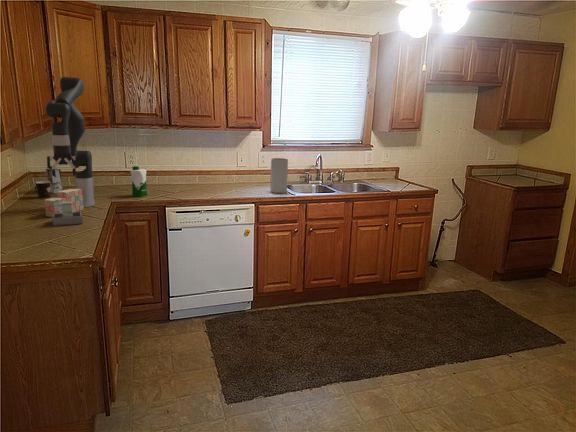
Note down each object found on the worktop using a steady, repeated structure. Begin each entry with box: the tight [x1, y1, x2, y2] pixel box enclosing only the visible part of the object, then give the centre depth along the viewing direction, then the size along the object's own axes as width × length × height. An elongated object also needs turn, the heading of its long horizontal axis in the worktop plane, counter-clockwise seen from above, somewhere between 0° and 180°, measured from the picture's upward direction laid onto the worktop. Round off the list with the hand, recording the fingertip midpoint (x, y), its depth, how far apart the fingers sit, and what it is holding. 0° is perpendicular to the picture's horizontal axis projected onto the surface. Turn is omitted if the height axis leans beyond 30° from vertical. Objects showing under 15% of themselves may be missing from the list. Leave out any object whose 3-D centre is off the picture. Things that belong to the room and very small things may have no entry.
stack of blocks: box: [44, 188, 85, 218], centre depth 240 cm, size 21×6×12 cm, turn 163°
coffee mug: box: [34, 180, 51, 199], centre depth 275 cm, size 12×9×10 cm
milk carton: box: [129, 165, 148, 198], centre depth 290 cm, size 9×9×20 cm
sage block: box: [62, 202, 73, 217], centre depth 221 cm, size 5×4×10 cm
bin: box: [51, 211, 83, 227], centre depth 221 cm, size 10×13×4 cm
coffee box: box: [45, 167, 63, 194], centre depth 293 cm, size 9×6×16 cm
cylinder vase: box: [270, 157, 289, 194], centre depth 321 cm, size 12×12×25 cm
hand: (64, 176), depth 217 cm, fingers open, 8 cm apart
